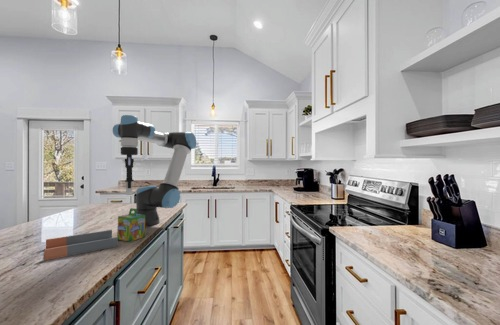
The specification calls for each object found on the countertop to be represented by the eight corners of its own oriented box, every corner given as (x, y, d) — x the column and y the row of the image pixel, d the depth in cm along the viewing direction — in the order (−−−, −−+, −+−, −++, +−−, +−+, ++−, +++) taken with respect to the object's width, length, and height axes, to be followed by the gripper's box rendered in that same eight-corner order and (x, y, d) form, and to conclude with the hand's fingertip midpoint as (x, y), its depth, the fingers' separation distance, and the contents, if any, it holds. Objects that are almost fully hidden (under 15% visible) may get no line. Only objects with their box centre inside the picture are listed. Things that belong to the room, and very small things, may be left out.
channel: (111, 237, 119) (111, 229, 119) (117, 246, 106) (117, 237, 106) (45, 248, 103) (46, 239, 103) (44, 260, 91) (44, 249, 91)
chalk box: (116, 240, 115) (117, 209, 115) (132, 234, 124) (132, 206, 124) (130, 242, 112) (130, 211, 112) (145, 237, 120) (146, 208, 120)
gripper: (121, 147, 120) (121, 193, 121) (120, 146, 109) (120, 197, 109) (137, 147, 124) (137, 192, 124) (138, 146, 112) (138, 195, 113)
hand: (129, 194), depth 117 cm, fingers closed
